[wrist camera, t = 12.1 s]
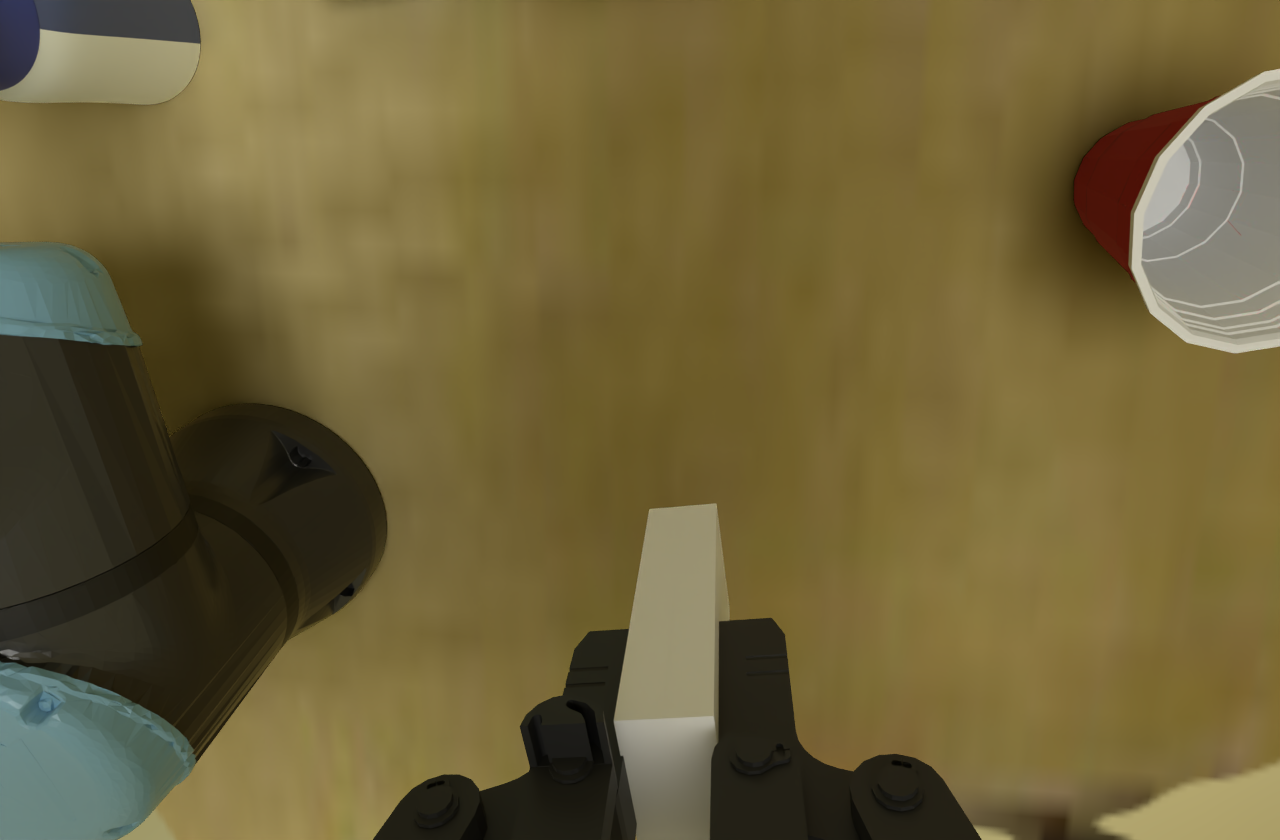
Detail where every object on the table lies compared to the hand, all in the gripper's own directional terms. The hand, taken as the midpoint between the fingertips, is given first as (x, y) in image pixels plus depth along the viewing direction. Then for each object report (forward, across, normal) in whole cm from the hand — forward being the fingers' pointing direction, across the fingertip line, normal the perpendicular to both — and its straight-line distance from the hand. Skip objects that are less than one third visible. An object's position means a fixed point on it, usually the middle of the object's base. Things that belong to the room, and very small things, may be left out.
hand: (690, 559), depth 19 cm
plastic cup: (+30, -22, -2) cm, 37 cm away
